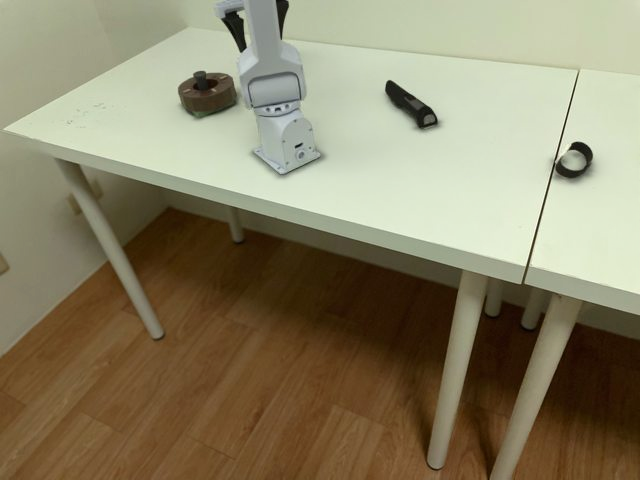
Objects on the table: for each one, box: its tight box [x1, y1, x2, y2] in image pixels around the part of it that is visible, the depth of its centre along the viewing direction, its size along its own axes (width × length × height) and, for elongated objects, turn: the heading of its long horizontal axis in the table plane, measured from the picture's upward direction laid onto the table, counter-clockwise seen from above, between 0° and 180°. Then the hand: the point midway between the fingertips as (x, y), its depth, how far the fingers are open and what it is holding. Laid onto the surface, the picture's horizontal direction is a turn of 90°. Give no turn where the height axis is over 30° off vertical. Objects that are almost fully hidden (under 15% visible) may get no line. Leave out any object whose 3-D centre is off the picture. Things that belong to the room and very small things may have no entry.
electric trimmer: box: [384, 79, 439, 130], centre depth 87 cm, size 4×16×3 cm, turn 21°
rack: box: [190, 70, 234, 119], centre depth 95 cm, size 8×8×7 cm
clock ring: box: [177, 72, 237, 112], centre depth 95 cm, size 11×11×3 cm
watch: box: [554, 141, 594, 179], centre depth 69 cm, size 8×5×4 cm, turn 140°
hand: (261, 47), depth 90 cm, fingers open, 7 cm apart
